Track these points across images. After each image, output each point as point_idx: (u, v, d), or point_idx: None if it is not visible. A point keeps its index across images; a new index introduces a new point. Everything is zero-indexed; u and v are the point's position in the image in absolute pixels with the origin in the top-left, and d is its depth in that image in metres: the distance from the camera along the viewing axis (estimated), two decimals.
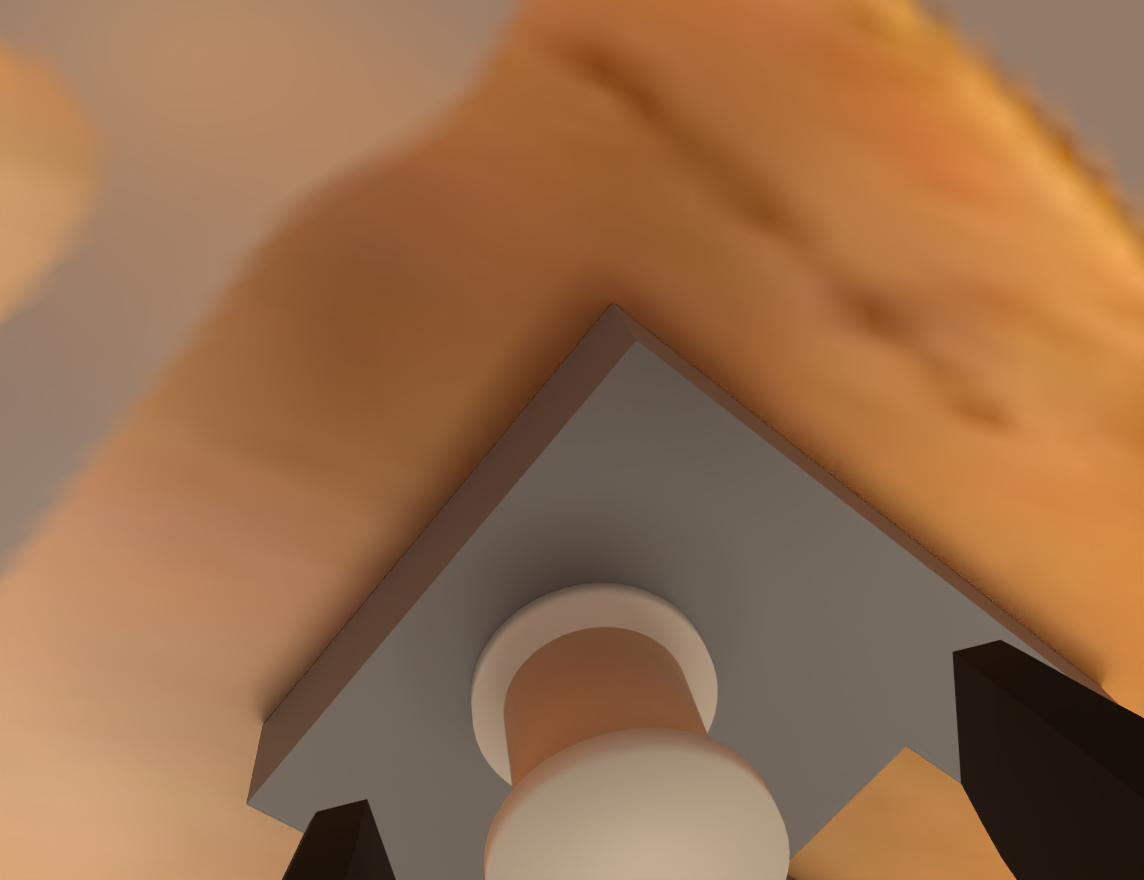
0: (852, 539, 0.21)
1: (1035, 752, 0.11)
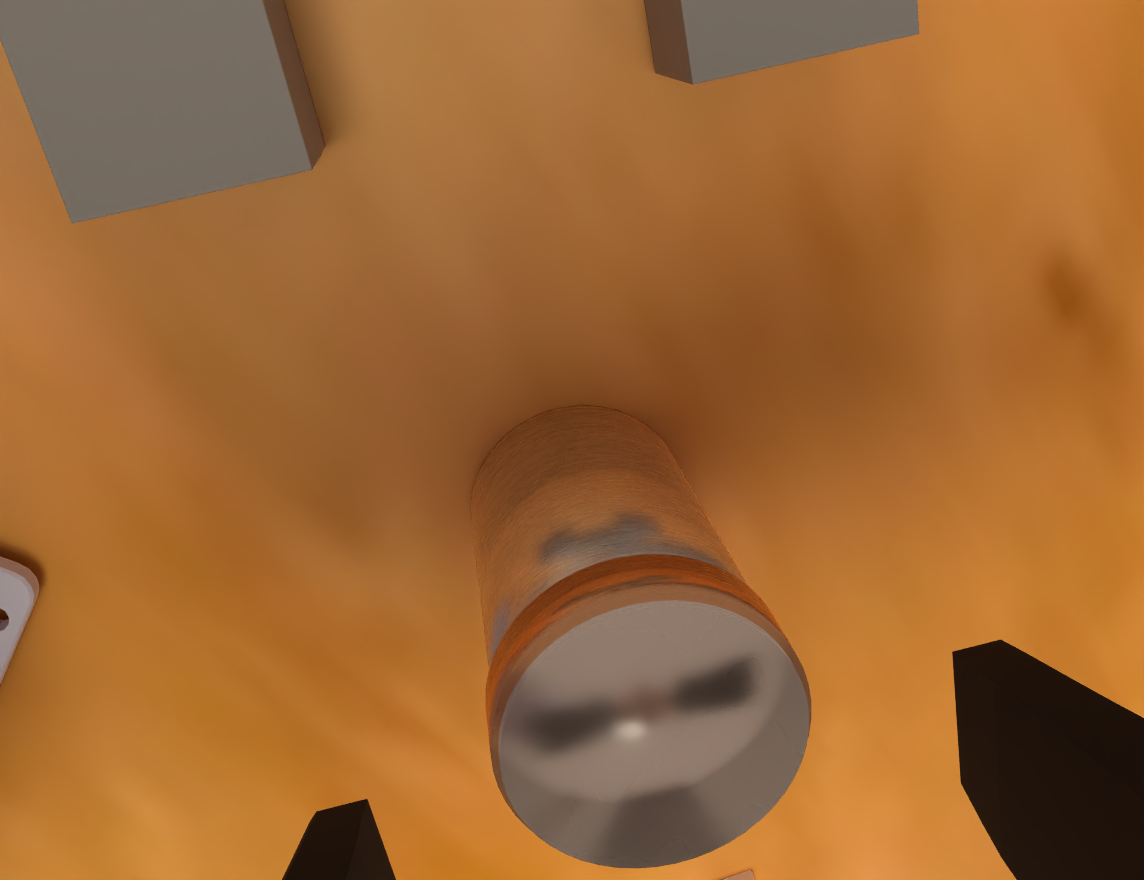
0: None
1: (1035, 752, 0.11)
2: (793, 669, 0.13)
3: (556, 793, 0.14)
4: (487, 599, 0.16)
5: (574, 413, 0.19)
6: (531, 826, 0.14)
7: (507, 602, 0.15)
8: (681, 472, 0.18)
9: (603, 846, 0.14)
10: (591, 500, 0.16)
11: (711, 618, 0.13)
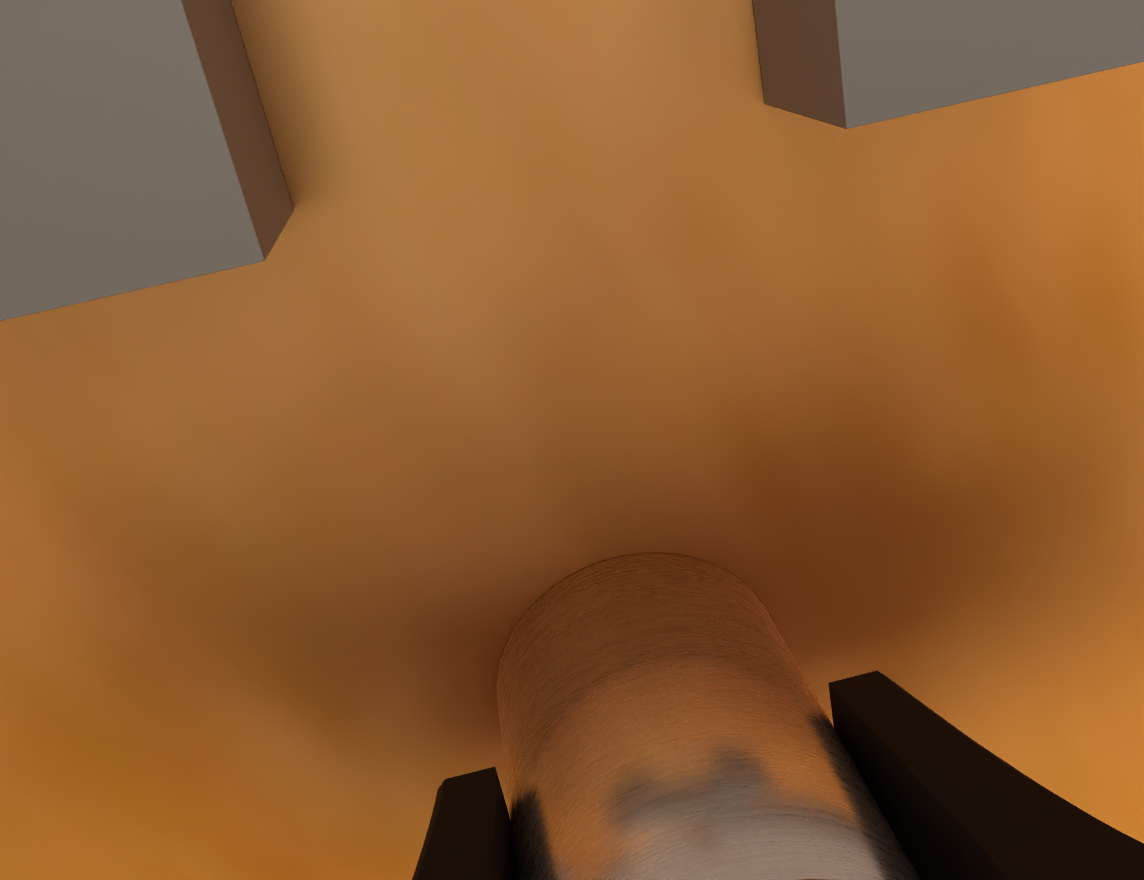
0: None
1: (894, 788, 0.11)
2: None
3: None
4: None
5: (640, 568, 0.14)
6: None
7: None
8: (790, 654, 0.13)
9: None
10: (684, 743, 0.11)
11: None
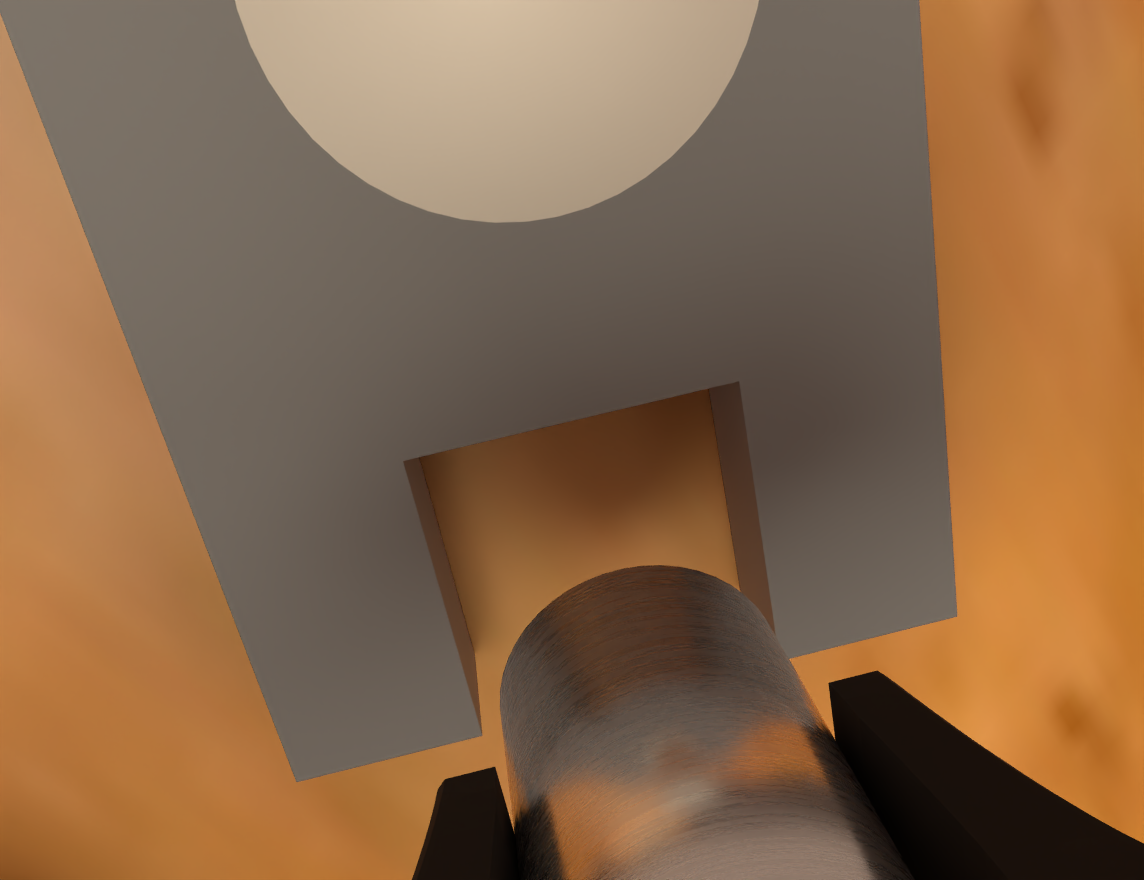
0: (889, 38, 0.15)
1: (894, 788, 0.11)
2: None
3: None
4: None
5: (642, 580, 0.14)
6: None
7: None
8: (790, 665, 0.13)
9: None
10: (684, 753, 0.11)
11: None
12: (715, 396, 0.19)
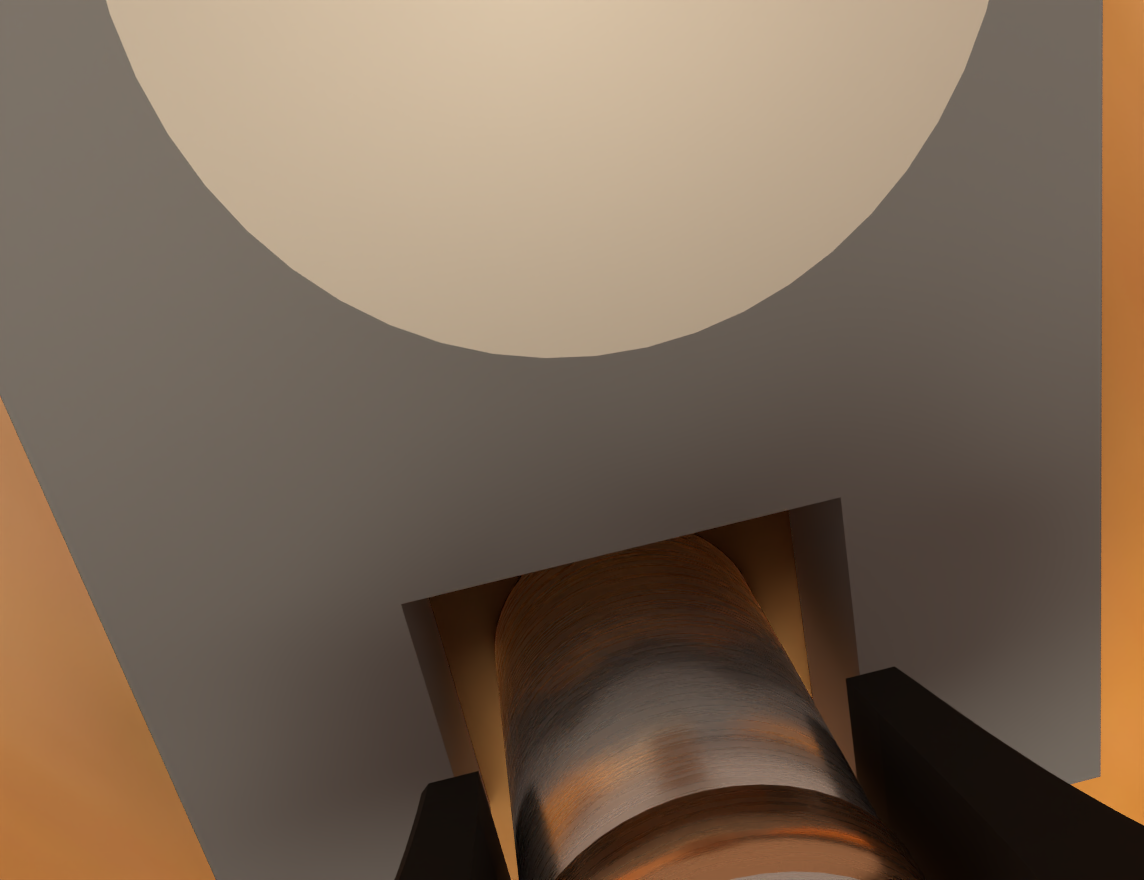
0: (1059, 50, 0.11)
1: (913, 783, 0.11)
2: None
3: None
4: (519, 807, 0.12)
5: None
6: None
7: (547, 833, 0.11)
8: (761, 612, 0.15)
9: None
10: (657, 679, 0.12)
11: None
12: None
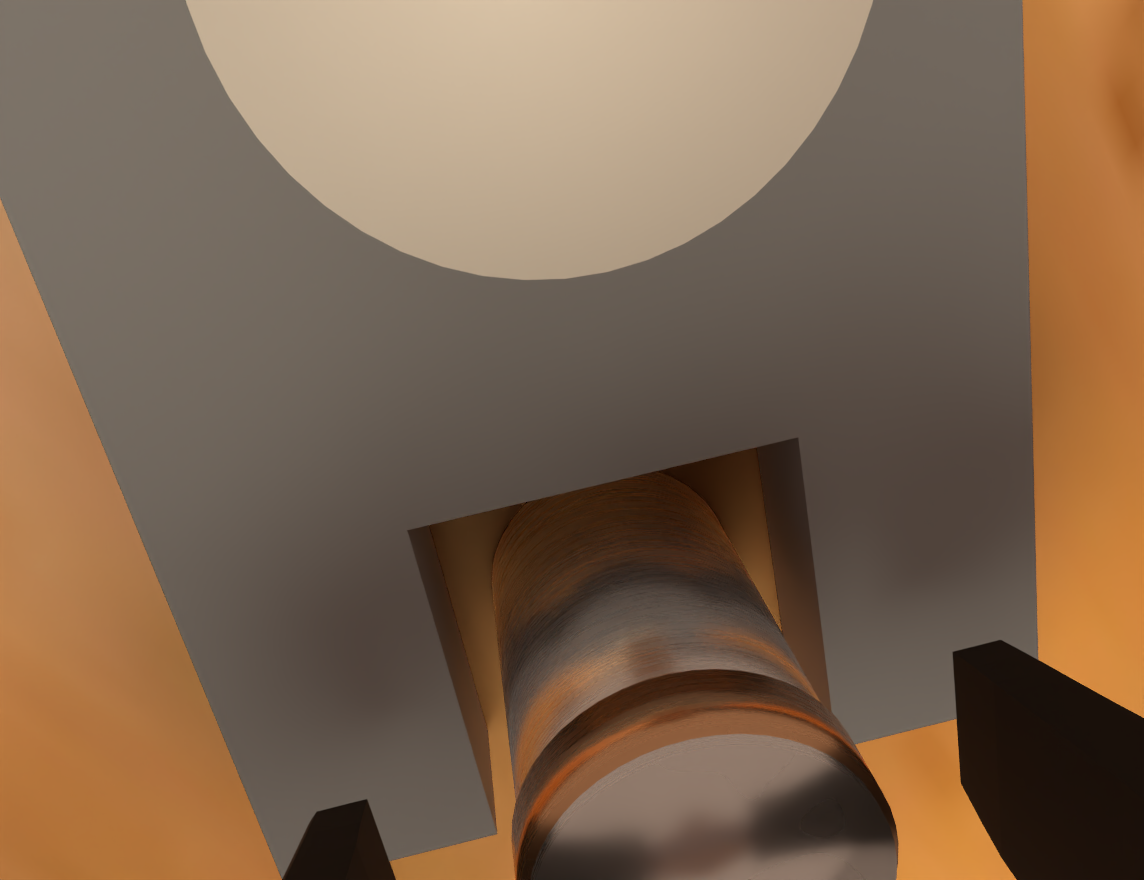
0: (984, 38, 0.13)
1: (1035, 752, 0.11)
2: (880, 812, 0.11)
3: None
4: (512, 704, 0.14)
5: None
6: None
7: (537, 718, 0.13)
8: (730, 544, 0.16)
9: None
10: (633, 591, 0.14)
11: (783, 755, 0.11)
12: (763, 446, 0.17)
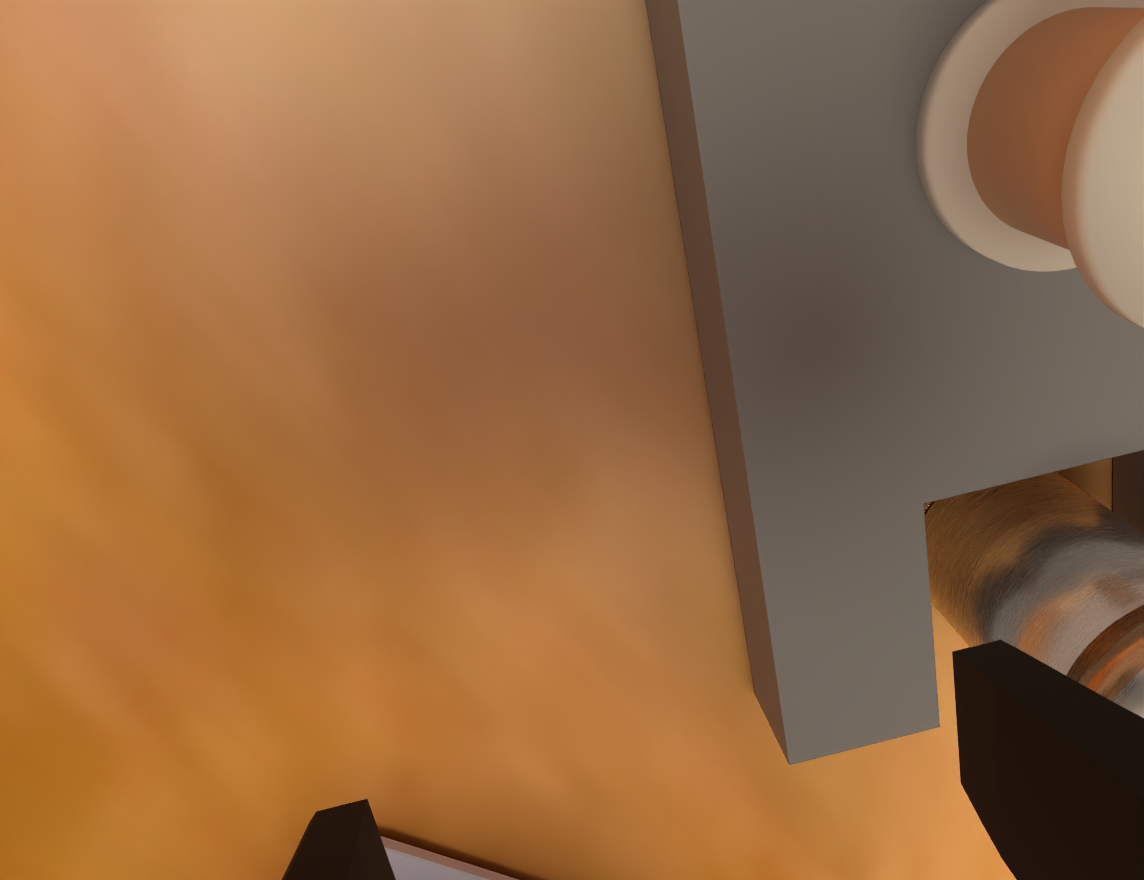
0: None
1: (1035, 752, 0.11)
2: None
3: None
4: (1011, 625, 0.20)
5: None
6: None
7: (1058, 629, 0.19)
8: None
9: None
10: (1099, 545, 0.20)
11: None
12: None
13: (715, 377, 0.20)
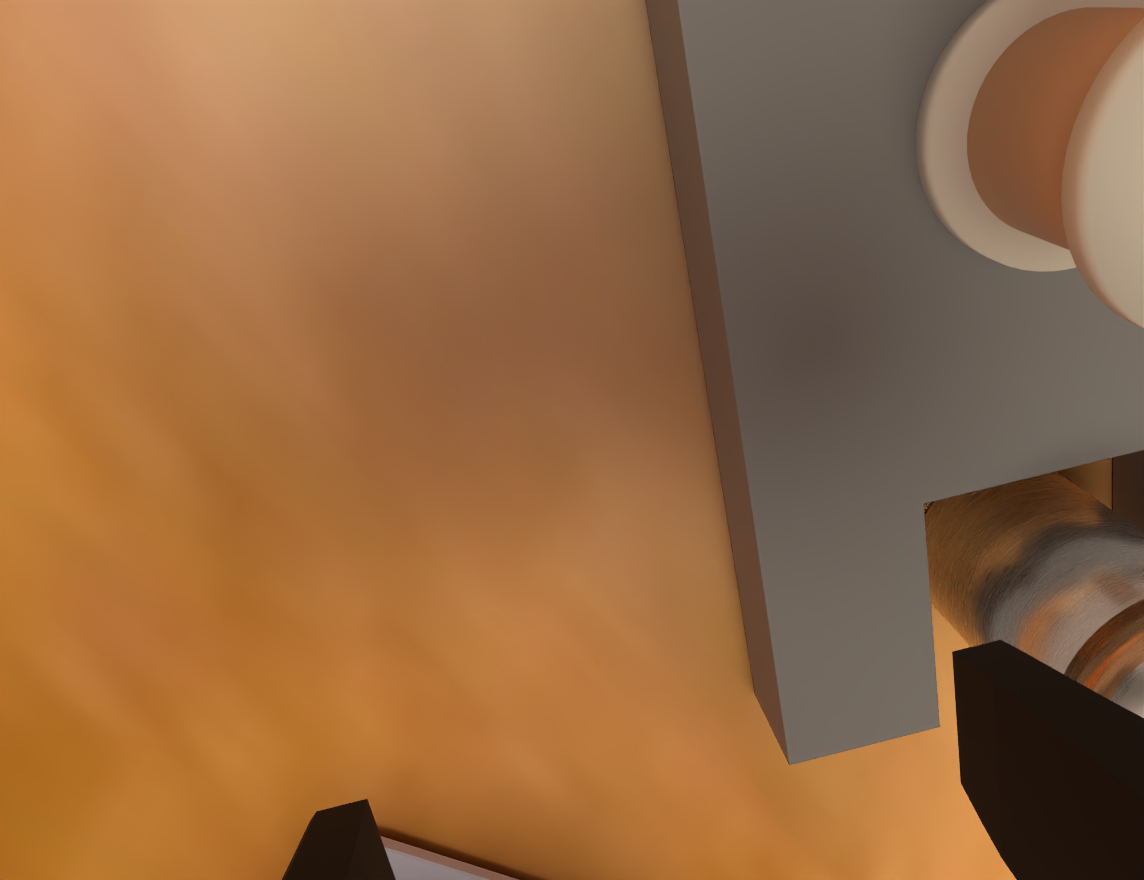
0: None
1: (1035, 752, 0.11)
2: None
3: None
4: (1010, 622, 0.20)
5: None
6: None
7: (1057, 625, 0.19)
8: None
9: None
10: (1098, 541, 0.20)
11: None
12: None
13: (715, 377, 0.20)
